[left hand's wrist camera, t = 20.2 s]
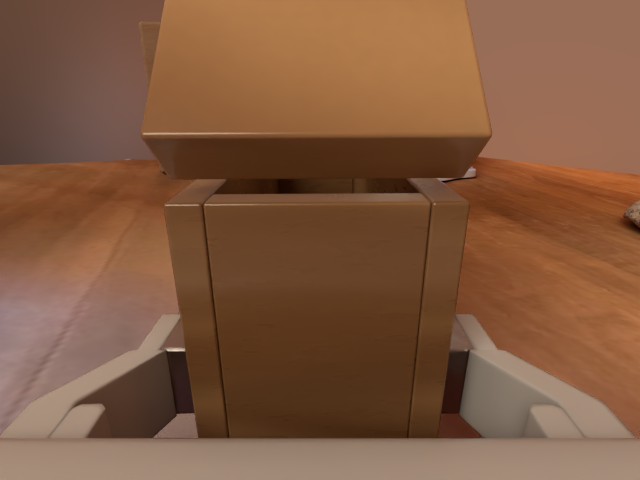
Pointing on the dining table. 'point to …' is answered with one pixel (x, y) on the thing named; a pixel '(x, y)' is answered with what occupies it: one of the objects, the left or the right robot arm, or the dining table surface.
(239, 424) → the chest
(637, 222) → the rock
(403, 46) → the lid
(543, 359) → the dining table surface
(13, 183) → the dining table surface
